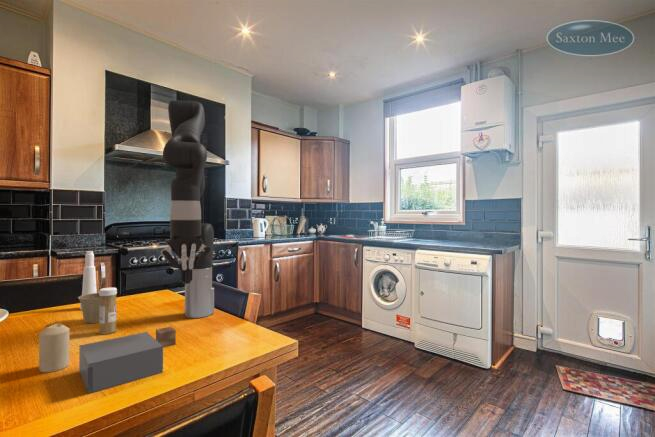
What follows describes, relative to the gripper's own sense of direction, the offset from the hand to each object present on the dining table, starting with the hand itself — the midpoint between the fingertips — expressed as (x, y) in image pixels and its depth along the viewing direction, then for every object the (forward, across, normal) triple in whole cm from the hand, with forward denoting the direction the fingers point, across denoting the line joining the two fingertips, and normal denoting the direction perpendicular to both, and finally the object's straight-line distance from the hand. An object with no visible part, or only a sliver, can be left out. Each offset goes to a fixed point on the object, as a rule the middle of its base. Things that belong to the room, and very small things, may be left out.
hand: (186, 283), depth 89 cm
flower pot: (+19, -13, +46) cm, 52 cm away
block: (+18, -3, +8) cm, 20 cm away
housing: (+18, -16, -3) cm, 24 cm away
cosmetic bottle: (+19, -12, +66) cm, 70 cm away
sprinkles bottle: (+18, -12, +30) cm, 38 cm away
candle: (+18, -27, +11) cm, 34 cm away
